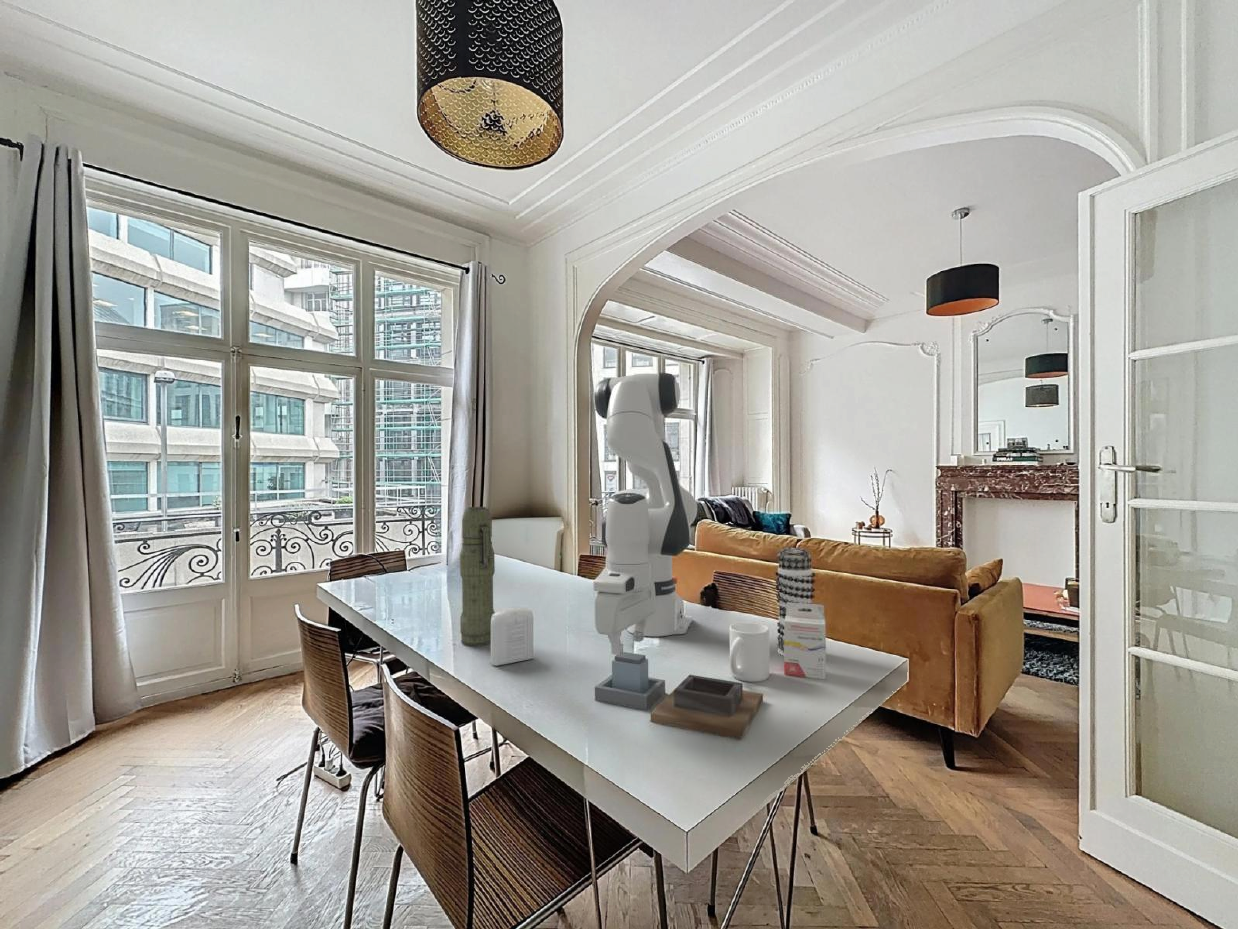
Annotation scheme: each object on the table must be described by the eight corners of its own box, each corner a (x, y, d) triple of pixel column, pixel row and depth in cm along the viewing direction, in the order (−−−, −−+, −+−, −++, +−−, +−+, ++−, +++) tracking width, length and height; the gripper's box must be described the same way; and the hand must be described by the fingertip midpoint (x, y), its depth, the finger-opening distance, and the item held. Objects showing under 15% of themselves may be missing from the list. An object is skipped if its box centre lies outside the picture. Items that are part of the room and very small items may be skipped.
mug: (749, 691, 113) (748, 639, 113) (713, 681, 119) (712, 632, 119) (776, 674, 122) (775, 626, 122) (742, 666, 128) (741, 620, 128)
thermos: (480, 632, 156) (479, 505, 157) (505, 641, 148) (503, 507, 148) (451, 639, 150) (449, 507, 150) (475, 649, 142) (474, 509, 142)
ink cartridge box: (783, 675, 122) (783, 606, 122) (785, 667, 126) (784, 601, 126) (826, 680, 119) (825, 609, 119) (826, 671, 124) (825, 604, 124)
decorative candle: (816, 661, 130) (815, 552, 130) (774, 657, 133) (773, 550, 133) (816, 649, 139) (815, 546, 139) (777, 645, 142) (775, 545, 142)
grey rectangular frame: (615, 684, 118) (615, 671, 118) (665, 692, 113) (664, 680, 113) (594, 700, 110) (594, 687, 110) (646, 710, 105) (646, 696, 105)
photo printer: (528, 654, 138) (528, 603, 138) (536, 659, 134) (535, 606, 134) (488, 662, 132) (487, 609, 132) (494, 668, 128) (494, 613, 128)
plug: (621, 690, 115) (620, 650, 115) (648, 695, 112) (648, 655, 112) (612, 697, 111) (611, 656, 111) (640, 703, 108) (639, 661, 108)
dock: (683, 687, 116) (683, 665, 116) (763, 701, 108) (762, 677, 108) (650, 721, 100) (650, 696, 100) (740, 739, 93) (739, 712, 93)
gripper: (636, 567, 122) (636, 632, 122) (588, 583, 104) (588, 659, 104) (663, 569, 119) (663, 635, 119) (619, 586, 101) (619, 664, 101)
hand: (628, 647), depth 111 cm, fingers open, 8 cm apart
